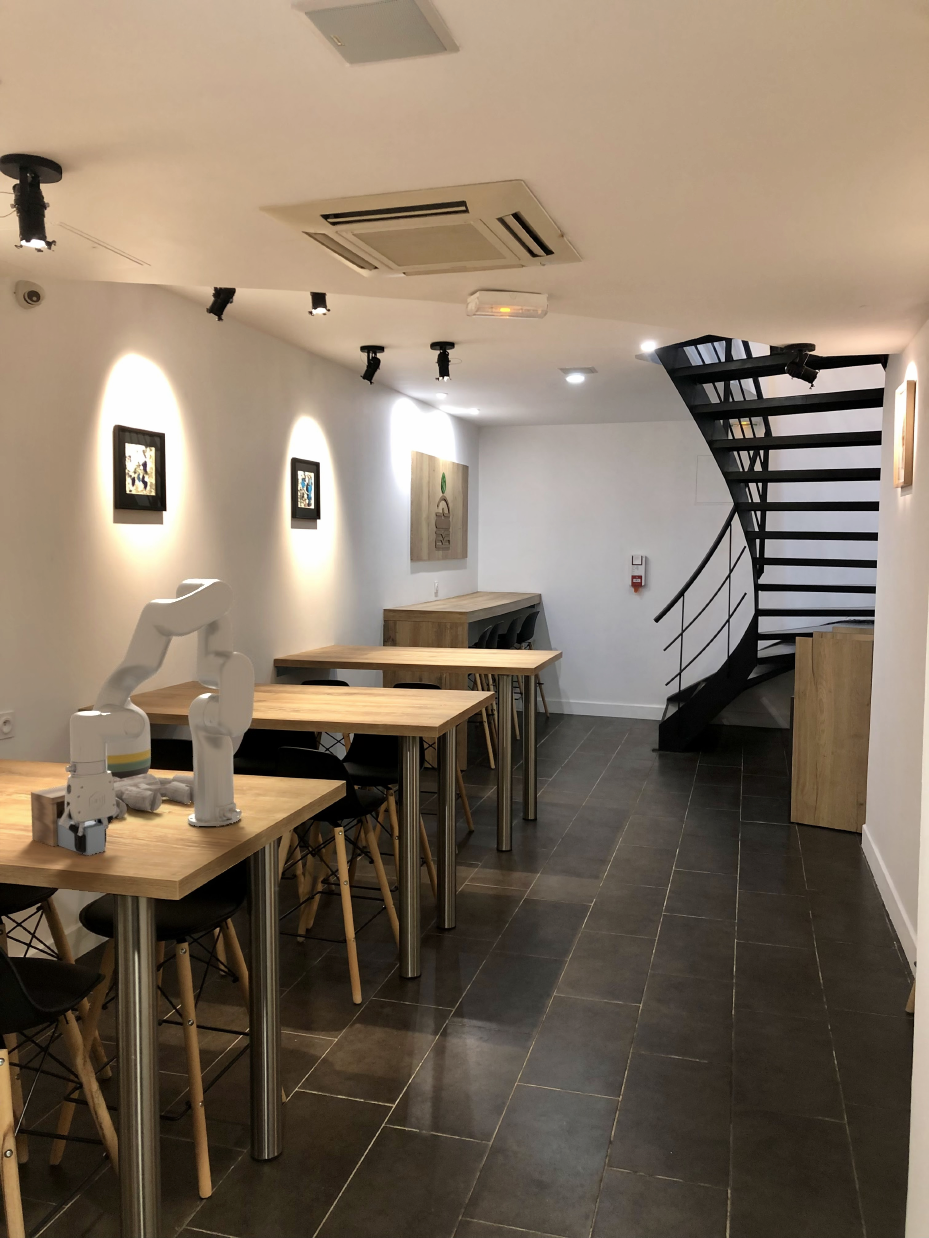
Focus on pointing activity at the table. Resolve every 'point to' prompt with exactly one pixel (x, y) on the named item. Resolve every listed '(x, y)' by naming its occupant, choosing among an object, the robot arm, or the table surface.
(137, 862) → the table surface
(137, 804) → the white branched piece
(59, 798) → the open wooden box
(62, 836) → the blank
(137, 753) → the vase
